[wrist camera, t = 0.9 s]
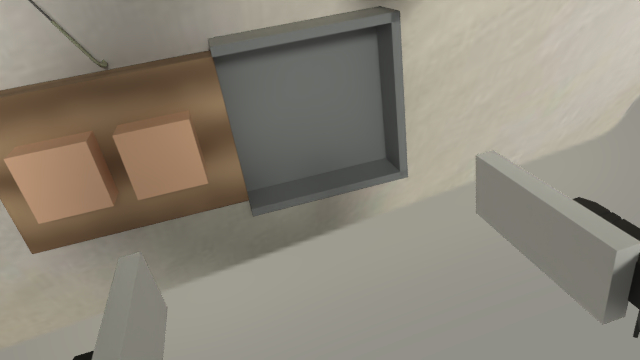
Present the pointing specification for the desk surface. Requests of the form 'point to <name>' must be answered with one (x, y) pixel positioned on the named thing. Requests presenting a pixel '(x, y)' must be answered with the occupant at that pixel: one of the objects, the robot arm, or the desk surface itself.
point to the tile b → (161, 154)
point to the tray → (315, 106)
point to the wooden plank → (102, 118)
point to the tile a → (62, 176)
